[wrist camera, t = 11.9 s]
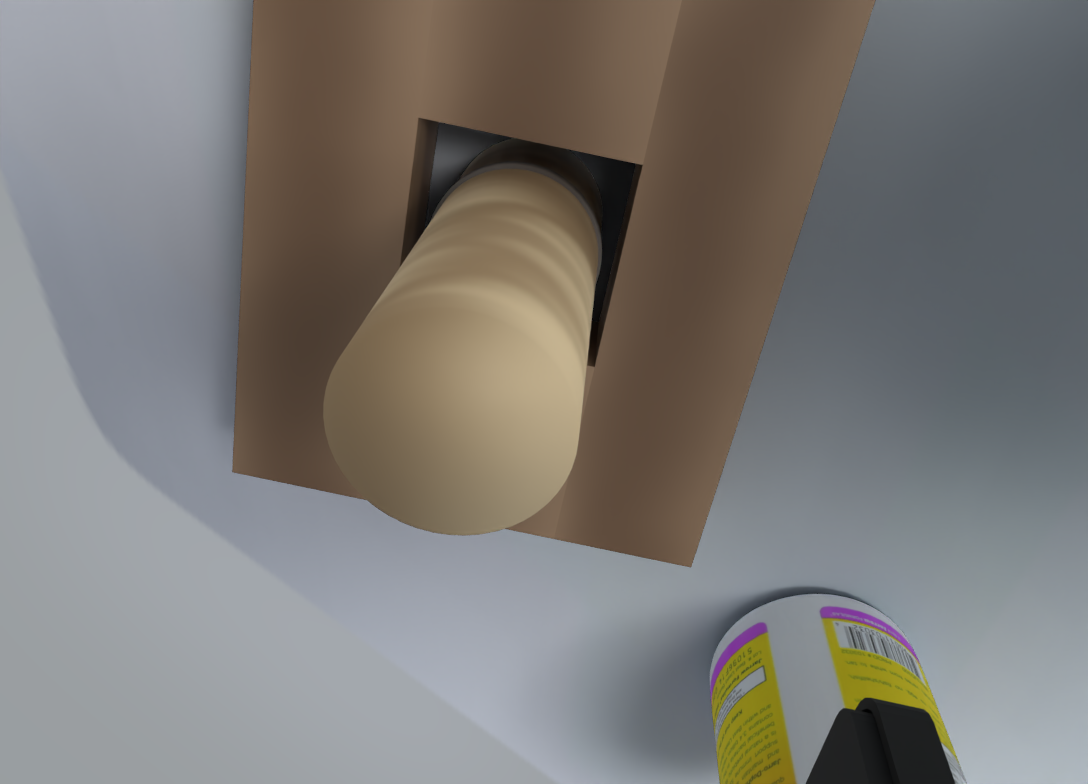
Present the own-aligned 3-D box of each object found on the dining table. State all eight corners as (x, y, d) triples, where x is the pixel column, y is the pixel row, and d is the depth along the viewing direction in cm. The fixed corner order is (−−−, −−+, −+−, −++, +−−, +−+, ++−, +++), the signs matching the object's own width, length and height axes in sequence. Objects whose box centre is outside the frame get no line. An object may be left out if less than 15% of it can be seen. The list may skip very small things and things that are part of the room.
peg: (621, 152, 24) (610, 335, 14) (587, 300, 26) (556, 561, 16) (463, 119, 24) (329, 276, 14) (441, 269, 26) (308, 510, 16)
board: (862, -61, 22) (894, -58, 19) (685, 507, 29) (690, 567, 26) (307, -180, 22) (262, -193, 19) (269, 420, 29) (232, 472, 26)
